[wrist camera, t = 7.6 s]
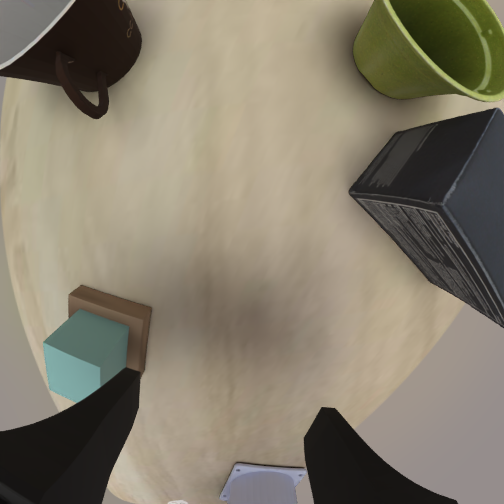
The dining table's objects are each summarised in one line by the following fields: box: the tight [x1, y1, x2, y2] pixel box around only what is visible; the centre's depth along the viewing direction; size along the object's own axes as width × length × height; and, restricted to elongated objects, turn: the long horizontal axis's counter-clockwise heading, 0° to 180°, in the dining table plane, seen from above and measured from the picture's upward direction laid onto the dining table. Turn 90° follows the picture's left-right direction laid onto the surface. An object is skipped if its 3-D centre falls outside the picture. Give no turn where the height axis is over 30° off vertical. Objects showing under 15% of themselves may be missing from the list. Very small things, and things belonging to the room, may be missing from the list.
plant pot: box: [353, 0, 504, 102], centre depth 12 cm, size 9×9×9 cm
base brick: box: [68, 285, 152, 379], centre depth 20 cm, size 6×6×2 cm
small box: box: [349, 108, 504, 328], centre depth 14 cm, size 11×6×10 cm, turn 51°
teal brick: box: [43, 309, 129, 403], centre depth 16 cm, size 4×4×5 cm
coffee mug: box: [0, 0, 142, 119], centre depth 11 cm, size 12×9×10 cm
